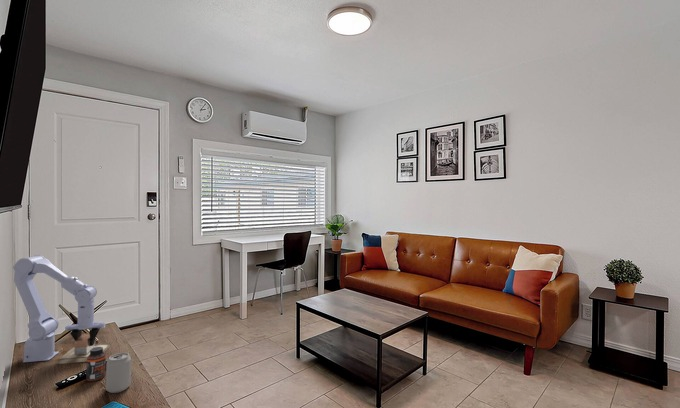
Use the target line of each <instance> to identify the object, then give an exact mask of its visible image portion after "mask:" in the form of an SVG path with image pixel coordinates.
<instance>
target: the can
mask: <svg viewBox="0 0 680 408" xmlns="http://www.w3.org/2000/svg"><path fill="white" fill-rule="evenodd" d="M105 369H106V370H105V390H106V391H107V392H109V393H111V394H117V393H121V392H123V391H125V390H127V389H128V388H129V387H130V386H131V384H132V381H131V380H132V379H131V378H132V377H131V376H132V375H131V373H132V372H131V371H132V358H131V356H130V354H129V352H118V353H115V354H112V355H110V356H109V358H108V360H106V364H105Z"/></svg>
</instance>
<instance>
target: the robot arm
mask: <svg viewBox="0 0 680 408" xmlns="http://www.w3.org/2000/svg"><path fill="white" fill-rule="evenodd" d="M12 269H13V270H14V271H13V272H14V273H13V274H14V277H13V282H14V284H15V286H16V289H17V291H18V293H19V295H20V298H21V300H22V303H23V305H24V307H25V310H26V311H27V313H28V317H29V321H28V323H27V328H28V336H29V338H27V339H26V340H25V343H24V345H23V360H22V363H33V362H43V361H50V360H51V359H52V358H54V357H55V356H56V355H58V354H59V353H60V351H55V348H56V347H55V345H56V344H55V343H56V341H55V338H56V335H55V334H56V331H57V329H58V328H59V322H58V320H57V319H56V318H55V317H54V315H53V314H52V313H49V312H48V311H47V310H46V307H45V305H44V302H43V300H42V297H41V295H40V293H39V291H38V289H37V287H36V284H35V282H34V278H35V276H36V275H37V274H41V273H42V274H45V275H46V276H48V277H50V278H52V279H53V280H55V281H56V282H59V283H60V285H61V288H63V290H65V291H67V292H68V293H70V294H72V296H74V300H75V301H76V302H77V323H76V324H69V325H68V324H67V325H65V326H64V328H65V330H64V331H65V332H69V331H71V332H70V333H69V334H70V336H71V337H72V338H73V340H74V341H75V340H77V339H78V338H79V337H80V336H81V335H82V332H83V330H89V331H88V333H89V334H90V346H93V345H94V342H95V343H96V338H97V335H98V334H99V331H100V330H102V329H105V328H106V322H95V297H96V295H97V293H98V292H97V288H95V286H93V285H88V284H87V283H84V282H83V281H81V280H80V279H79V278H78V277H77V276H68V275H67V274H66V273H64V272H63V271H62V270H60V269H59V268H58V267H57V266H55V265H54V264H52V262H51V260H49V259H48V258H45V256H43V255H41V254H35V255H34V256H29V257H23V258H19V259H18V260H17V261H16V262H15V264H14V265H13V267H12Z"/></svg>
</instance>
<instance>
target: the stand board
mask: <svg viewBox="0 0 680 408" xmlns="http://www.w3.org/2000/svg"><path fill="white" fill-rule="evenodd" d="M95 347H103V352H104V353H106V351H107V350H108V349H109V348H111V344H110V343H96V344H95ZM95 347H93V348H95ZM74 349H75V345H74V346H73V347H72V348H71V349H69V350H68V351H67V352H66V353H65V354H63V356H61V357H59V358H58V359H57V365H60V364H62V365H63V364H72V363H82V362H84V363H85V362H86V363H87V357H88V356H89V355H90V351H89V352H88V353H87V354H81V355H74Z"/></svg>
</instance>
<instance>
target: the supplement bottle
mask: <svg viewBox="0 0 680 408" xmlns="http://www.w3.org/2000/svg"><path fill="white" fill-rule="evenodd" d="M106 357H107V355H106V352H103V347H95V348H92V349H91V350H90V355H89V356H88V357H87V361H86V377H85V378H86V381H87V382H96V381H100V380H101V379H104V377H106V363H107V360H106V359H107V358H106Z"/></svg>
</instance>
